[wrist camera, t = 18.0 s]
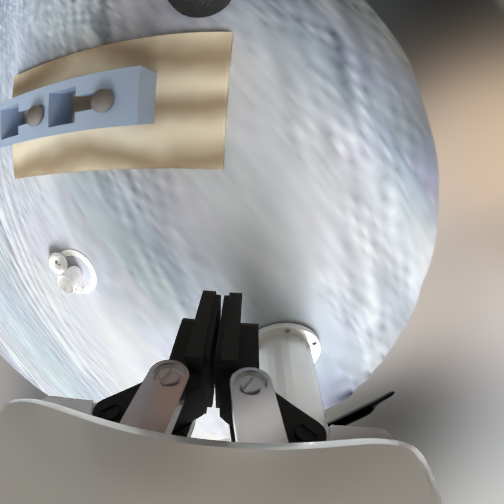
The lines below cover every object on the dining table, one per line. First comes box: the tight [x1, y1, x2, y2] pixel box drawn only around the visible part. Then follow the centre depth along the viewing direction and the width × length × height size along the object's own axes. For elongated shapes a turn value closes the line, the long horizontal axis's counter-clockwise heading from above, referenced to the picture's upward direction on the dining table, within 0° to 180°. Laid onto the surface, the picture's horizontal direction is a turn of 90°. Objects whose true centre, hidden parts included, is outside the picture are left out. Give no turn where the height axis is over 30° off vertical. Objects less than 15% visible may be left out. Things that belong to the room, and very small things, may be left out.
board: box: [12, 32, 233, 179], centre depth 23 cm, size 16×32×7 cm, turn 86°
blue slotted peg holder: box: [0, 66, 157, 148], centre depth 23 cm, size 6×22×5 cm, turn 86°
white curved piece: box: [48, 249, 97, 294], centre depth 35 cm, size 9×8×4 cm
